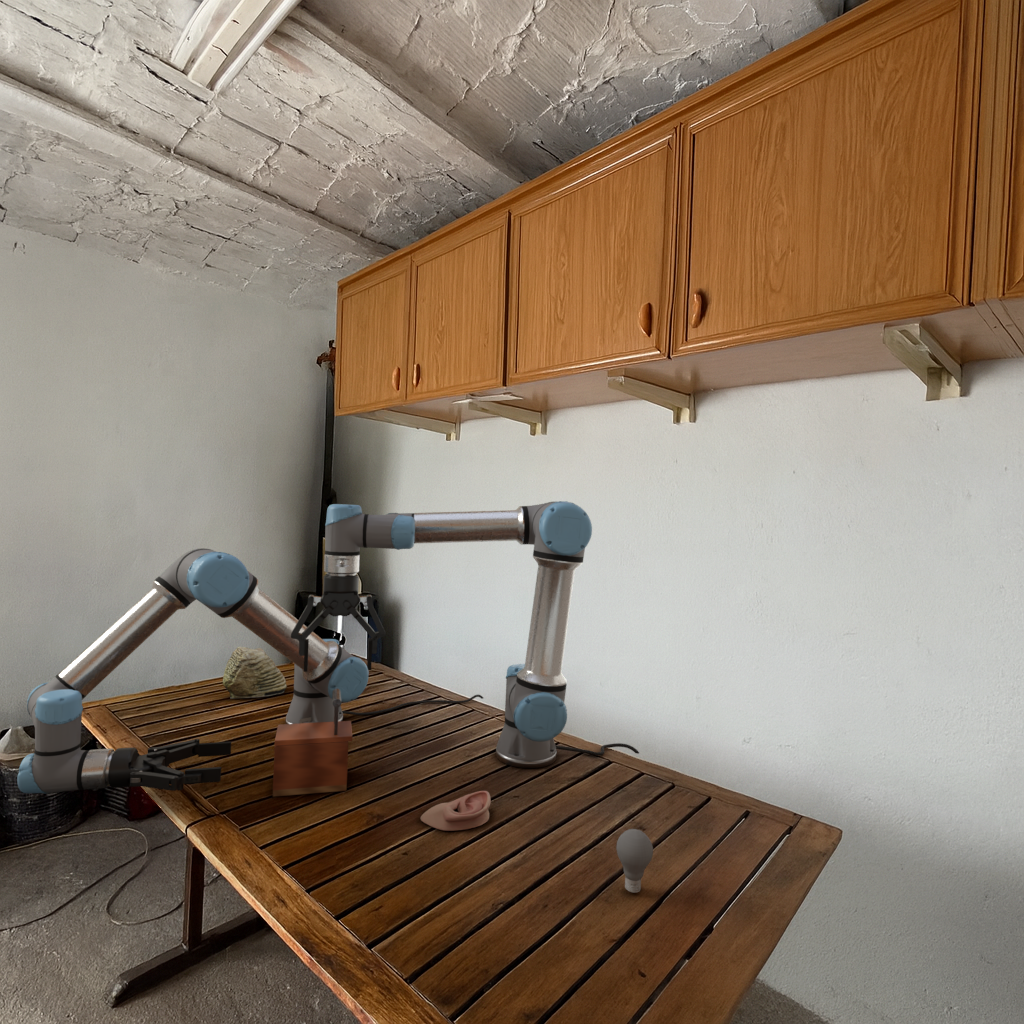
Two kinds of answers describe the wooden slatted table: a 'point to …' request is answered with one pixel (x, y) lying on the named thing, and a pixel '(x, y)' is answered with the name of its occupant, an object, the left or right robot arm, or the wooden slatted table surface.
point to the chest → (310, 768)
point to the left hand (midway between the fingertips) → (226, 760)
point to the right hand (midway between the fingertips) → (337, 669)
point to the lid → (316, 729)
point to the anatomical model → (459, 812)
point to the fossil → (252, 674)
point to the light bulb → (634, 857)
